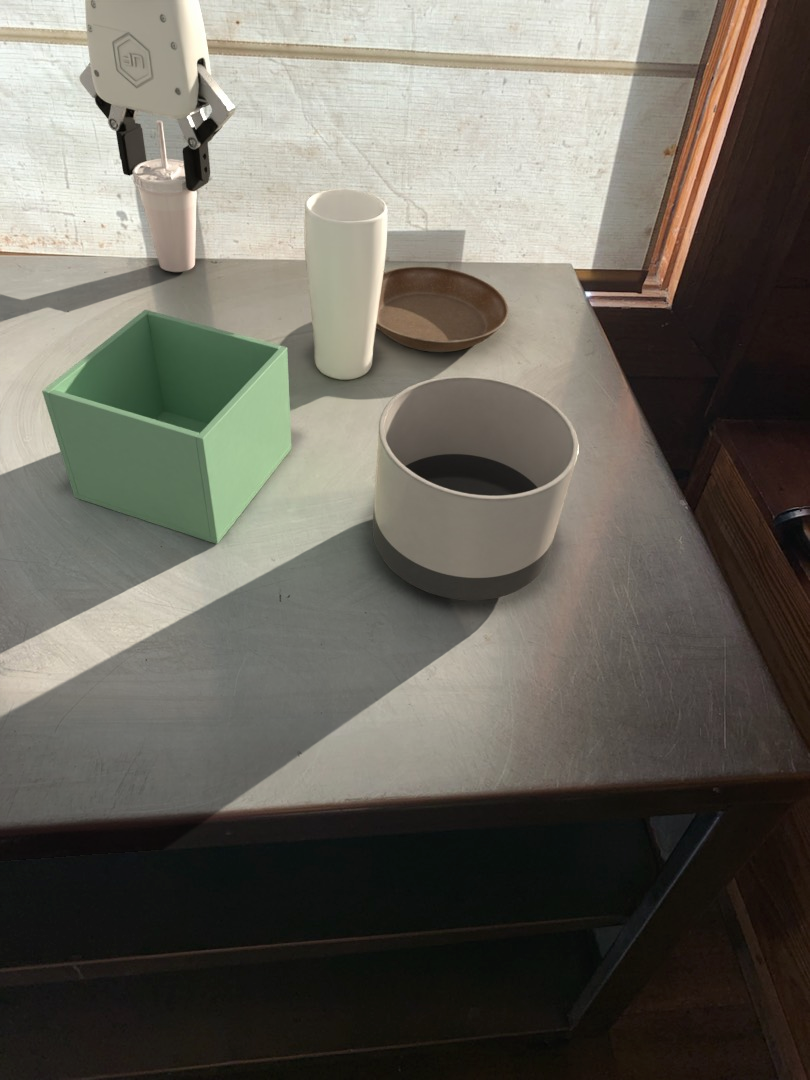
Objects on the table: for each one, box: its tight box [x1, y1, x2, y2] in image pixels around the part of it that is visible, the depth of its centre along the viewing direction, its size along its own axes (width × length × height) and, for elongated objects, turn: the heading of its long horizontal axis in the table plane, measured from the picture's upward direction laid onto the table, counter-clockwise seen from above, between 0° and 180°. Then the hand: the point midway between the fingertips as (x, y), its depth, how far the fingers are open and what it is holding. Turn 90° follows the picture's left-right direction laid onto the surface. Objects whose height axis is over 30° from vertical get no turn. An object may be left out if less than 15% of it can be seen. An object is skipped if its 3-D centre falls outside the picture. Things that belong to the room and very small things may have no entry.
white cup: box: [303, 188, 388, 381], centre depth 68 cm, size 7×7×15 cm
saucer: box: [376, 265, 509, 353], centre depth 79 cm, size 15×15×3 cm
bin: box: [42, 309, 292, 545], centre depth 58 cm, size 12×12×10 cm
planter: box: [372, 375, 580, 601], centre depth 54 cm, size 13×13×10 cm
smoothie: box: [132, 119, 198, 273], centre depth 80 cm, size 6×6×14 cm
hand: (166, 177), depth 78 cm, fingers closed on smoothie, 6 cm apart
